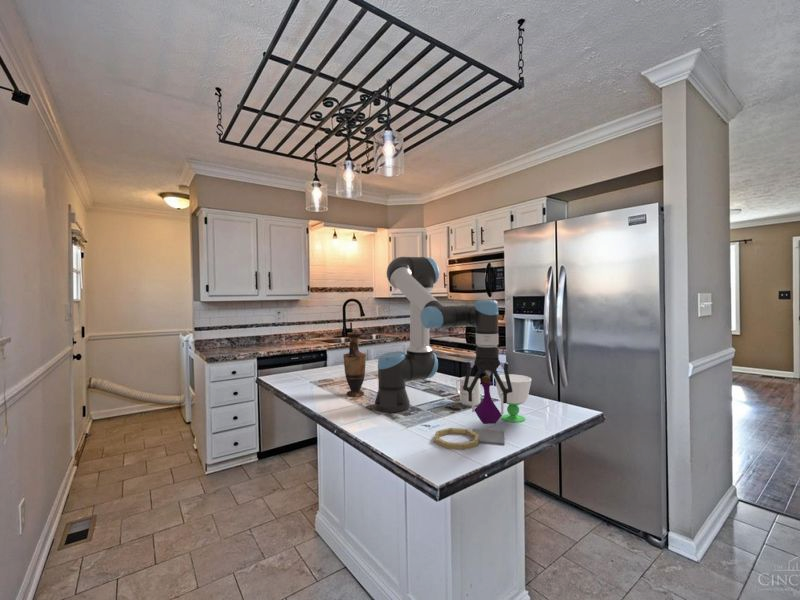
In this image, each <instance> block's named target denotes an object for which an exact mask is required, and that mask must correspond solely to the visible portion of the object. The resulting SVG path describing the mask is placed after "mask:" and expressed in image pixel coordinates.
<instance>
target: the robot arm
mask: <svg viewBox="0 0 800 600" xmlns="http://www.w3.org/2000/svg"><path fill="white" fill-rule="evenodd" d="M439 277H440V269H439V266H438V264H437V262H436V260H434V258H431V257H425V256H399V257H396V258H394V259H393V260H391V261H390V263H389V264H388V266H387V268H386V278H387V281H388V282H389V284H390V285H391V286H392V287H393V288H395V289H398V290H399V291H400V292H401V294H402V295H404V297H405V298H407V300H408V301H409V302H410V303H409V305H410V307H409V311H410V312H409V313H410V316H409V317H410V318H409V327H410V328H409V331H410V332H409V345H408V347H407V348H406V353H405V352H404V351H399V350H398V351H390V352H385V353H383V354H381V355H380V356H379V357H378V359H377V362H378V363H377V372H378V373H377V374H378V377H377V381H378V382H377V383H378V389H377V390H378V391H377V394H376V397H375V399H374V400H375V401H374V409H375V410H376V411H378V412H383V413H399V412H404V411H406V410H409V409H410V408H411V407H410V406H411V405H410V403H411V402H410V399H409V395H408V393H407V388H406V382H412V381H418V380H426V379H430V378H431V379H432V378H433V377H434V376H435V374H437V371H438V367H439V360H438V358H437V354H436V353H435V352H434V349H433V347H431V346H430V331H431V330H430V329H433V330H436V329H443V328H458V327H459V328H461V327H472V328H475V345H476V346H475V360H474V361H473V360H471V361H470V360H467V362H466V367H467V368H466V369H467V370H466V373H465V376H464V377H465V382H464V386H463V390H466V391H468V394H469V401H470V402H472V406H471V412H472V413H475V408H476V406H475V391H472V390H473V388H474V386H475V384H476V382H477V380H478V378H480V376H481V374H485V373H486V372H485V371H484V370H489V371H492V372H491V375H492V374H493V376H494V379H495V378H496V380H497V382H498V384H499V386H500V388H501V390H502V392H501V399H500V413H501V414H502V415H504V404H506V403H507V394H508V393H511V392H512V386H511V382H510V378H509V374H510V373H509V369H508V368H509V364H508V362H507V361H505V362H504V361H500V359H499V350H500V349H499V314H500V313H499V306H498V305H499V304H498V301H497V300H494V299H493V300H491V299H485V300H483V299H482V300H480V299H478V300H476V301H475V305H472V304H471V305H470V304H460V305H443V304H442V303H441V302H439V300H437V299H436V297H435V296H433V294H431V291H432V290H433V289H434V285H435V284H437V283H438V279H439ZM474 366H476V368H477V372H476V374H475V376H474V377H475V378H474V380H473V382H472V383H471V385H470V387H468V381H469V377H471V373H472V372H471V371H472V368H474ZM499 367H500V368H501V369H503V375H504V374H505V378H506V382H507V386H508V388H507V389H506V388H505V386H504V384H503V382H502V380H501V378H500V376H499V375H500V374H499V373H498V370H497V369H498V368H499ZM496 380H495V381H496Z"/></svg>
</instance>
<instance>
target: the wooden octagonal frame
mask: <svg viewBox="0 0 800 600" xmlns="http://www.w3.org/2000/svg"><path fill="white" fill-rule="evenodd" d="M450 434H455V435H467V436H468V437H470V438H471V435H472V436H474V437H475V439H474V440H473V441H470V440H469V441H466V442H463V443H461V442H452V441H450V442H449V441H446V440H444V439H442V438H440V437H443V436H446V435H450ZM478 441H479V434H477V433H475V432H473V431H472V430H470V429H468V428H457V427H449V428H445V429H440V430H437V431H435V434H434V436H433V442H434V443H435V444H436V445H439V446H440V447H442V448H444V449H453V450H463V451H464V450H467V449H471V448H474V447H478V446H479V443H478Z"/></svg>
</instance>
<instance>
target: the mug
mask: <svg viewBox="0 0 800 600" xmlns="http://www.w3.org/2000/svg"><path fill="white" fill-rule="evenodd" d="M465 377H466V376H462V377H460V378H459V379H456V380H455V382H456V383H455V384H456V392H457V394H458V395H459V401H460V404H461V405H463V406H466V407H472V402H470V401H469V394H468V391H466V390H463V386H464V382H465ZM474 378H475V376H470V377H469V381H468V387H470V385H471V383H472V382H473V380H474ZM480 382H481V378H480V377H479V378H478V380H477V382H476V384H475V386H474V388H473V390H472V391H475V407H477V406H478V405H479V404H480V403H481V384H480Z"/></svg>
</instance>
